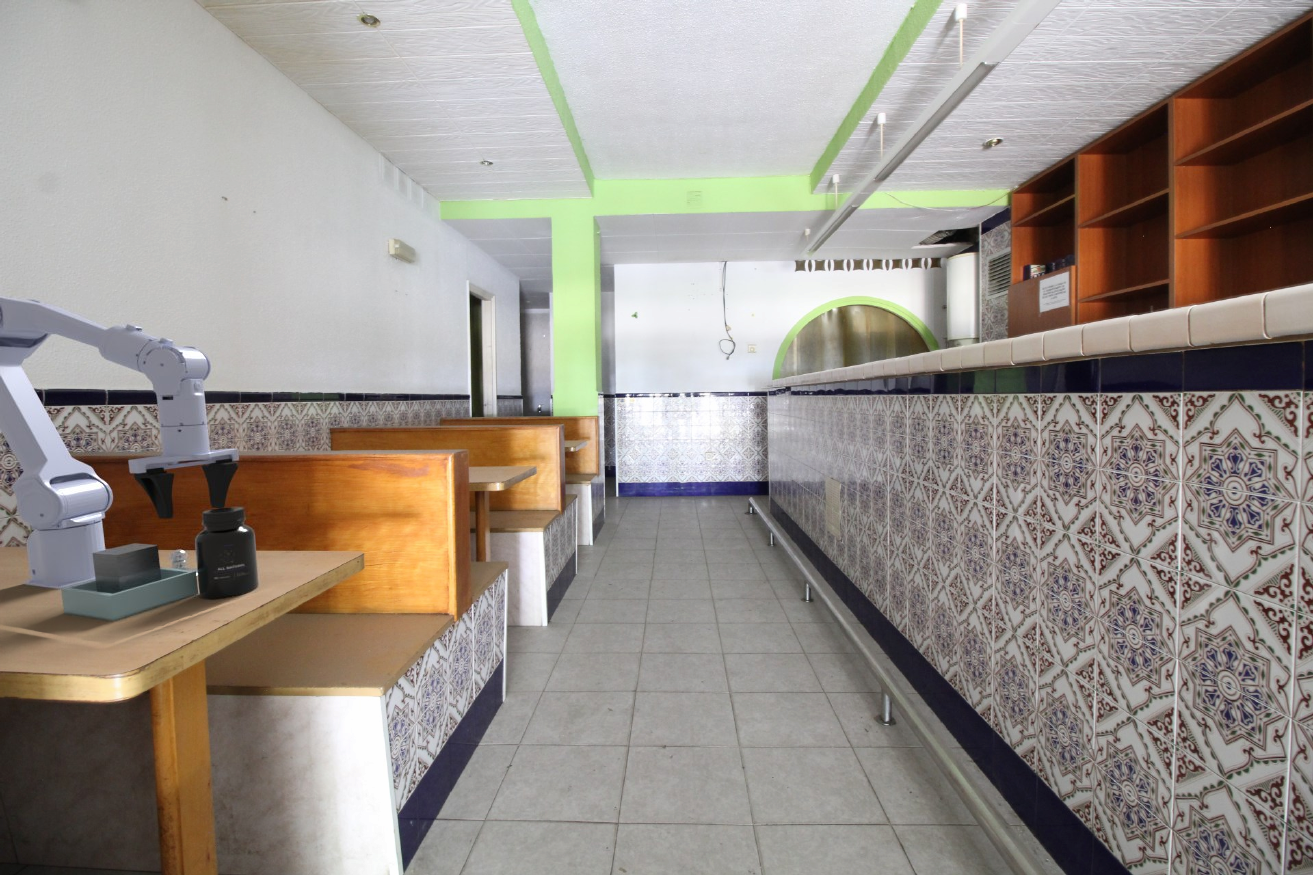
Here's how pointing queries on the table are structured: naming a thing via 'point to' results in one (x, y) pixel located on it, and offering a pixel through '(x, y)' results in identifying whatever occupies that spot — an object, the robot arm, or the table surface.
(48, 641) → the table surface
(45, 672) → the table surface
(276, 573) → the table surface
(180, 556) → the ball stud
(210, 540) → the supplement bottle
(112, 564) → the block
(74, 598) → the bin
